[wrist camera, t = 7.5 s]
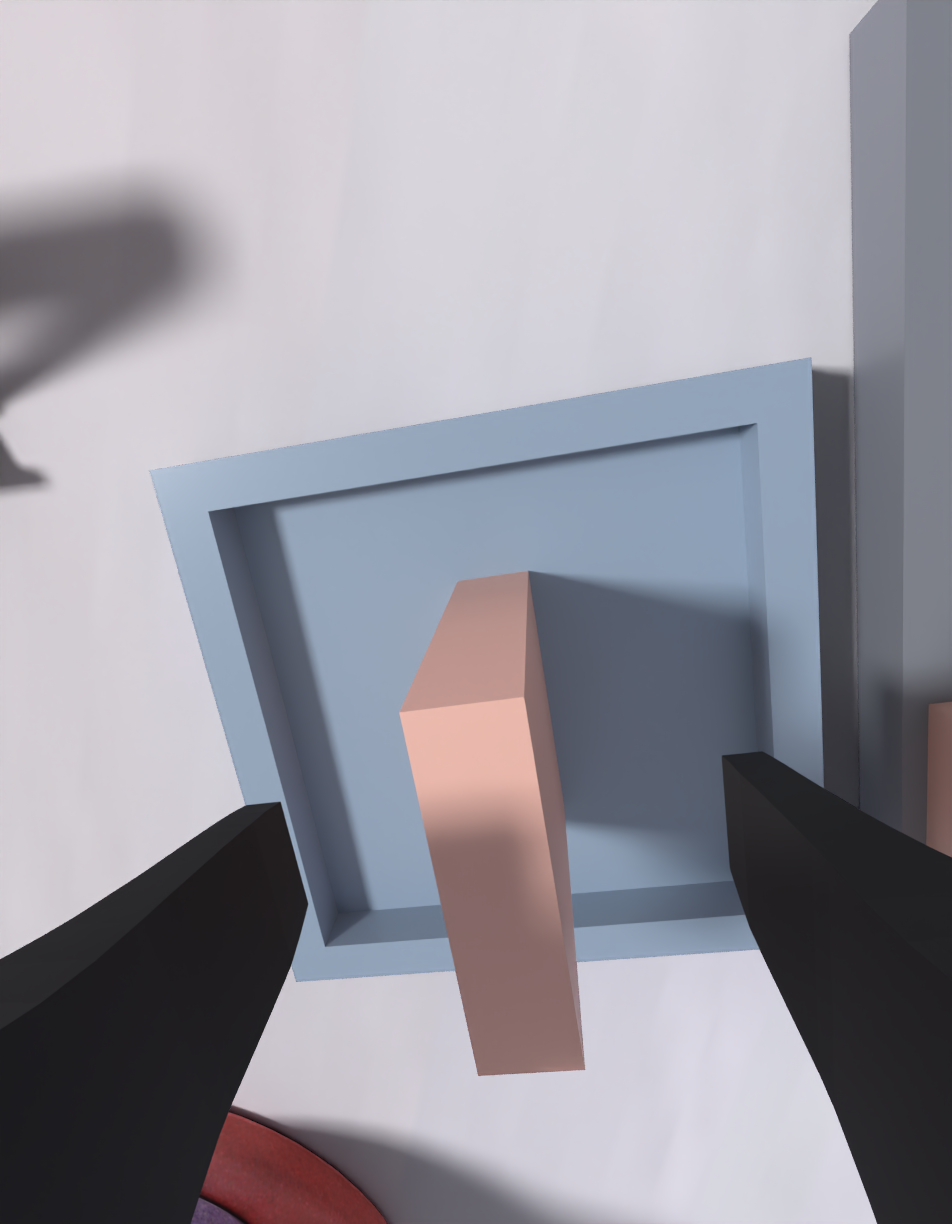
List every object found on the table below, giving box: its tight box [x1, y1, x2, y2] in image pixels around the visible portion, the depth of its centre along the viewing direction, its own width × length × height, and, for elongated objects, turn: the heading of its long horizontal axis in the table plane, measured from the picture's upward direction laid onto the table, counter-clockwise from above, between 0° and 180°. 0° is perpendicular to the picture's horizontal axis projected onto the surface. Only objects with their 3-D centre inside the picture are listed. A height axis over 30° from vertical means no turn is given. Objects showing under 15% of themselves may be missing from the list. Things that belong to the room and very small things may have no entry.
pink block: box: [399, 571, 585, 1076], centre depth 13 cm, size 6×2×7 cm, turn 10°
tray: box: [149, 358, 824, 982], centre depth 16 cm, size 13×13×2 cm
